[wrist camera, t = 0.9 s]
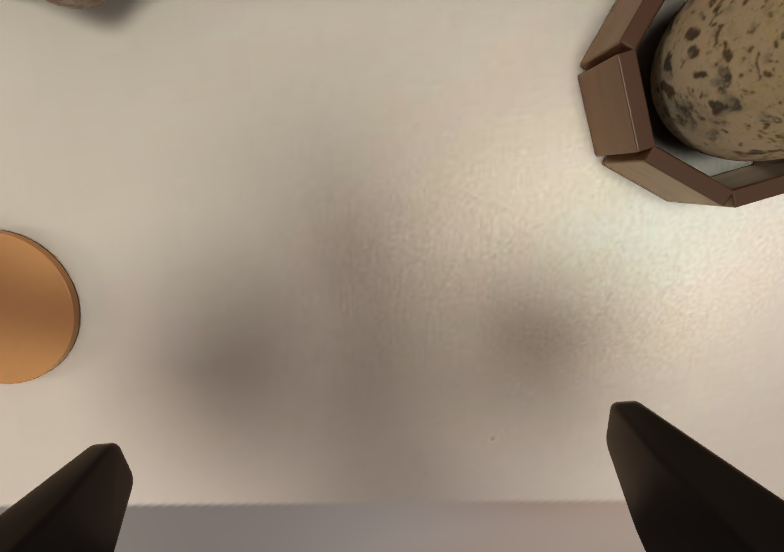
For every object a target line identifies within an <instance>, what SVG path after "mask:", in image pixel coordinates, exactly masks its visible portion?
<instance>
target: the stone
mask: <svg viewBox="0 0 784 552" xmlns="http://www.w3.org/2000/svg"><path fill="white" fill-rule="evenodd" d="M46 1H48V2H51V3H54V4H57V5H59V6H64V7H69V8H79V9H82V8H89V7H93V6H95V5H98V4H101V3H103V2H104V1H105V0H46Z"/></svg>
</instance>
